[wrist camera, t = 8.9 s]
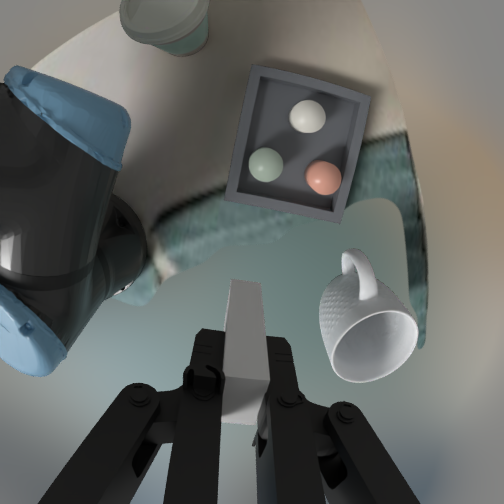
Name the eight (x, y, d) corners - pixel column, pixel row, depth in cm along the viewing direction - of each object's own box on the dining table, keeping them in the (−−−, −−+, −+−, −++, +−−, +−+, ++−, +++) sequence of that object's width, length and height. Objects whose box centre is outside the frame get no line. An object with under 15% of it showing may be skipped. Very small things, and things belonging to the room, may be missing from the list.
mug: (300, 242, 38) (322, 292, 26) (377, 225, 38) (425, 265, 25) (314, 330, 44) (333, 392, 32) (380, 313, 43) (413, 368, 31)
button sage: (246, 174, 33) (245, 178, 30) (252, 144, 32) (252, 145, 29) (276, 180, 34) (279, 185, 31) (283, 150, 32) (286, 152, 29)
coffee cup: (192, -2, 26) (171, -47, 15) (233, 38, 28) (227, -3, 17) (139, 38, 28) (98, 7, 16) (177, 79, 30) (145, 56, 19)
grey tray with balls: (226, 195, 36) (224, 200, 33) (251, 69, 30) (251, 64, 27) (333, 217, 37) (340, 223, 34) (362, 99, 31) (371, 96, 28)
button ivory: (285, 128, 31) (288, 128, 28) (291, 99, 30) (295, 96, 27) (315, 136, 32) (321, 136, 29) (321, 107, 30) (328, 105, 27)
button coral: (301, 185, 34) (306, 190, 31) (308, 156, 33) (313, 158, 30) (329, 192, 34) (336, 198, 31) (336, 164, 33) (344, 167, 30)
